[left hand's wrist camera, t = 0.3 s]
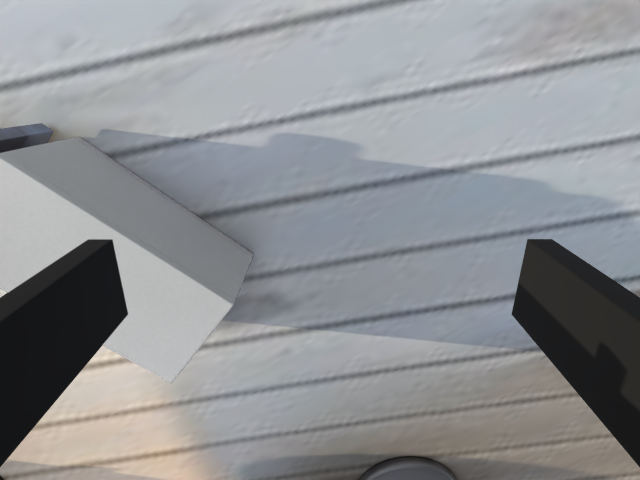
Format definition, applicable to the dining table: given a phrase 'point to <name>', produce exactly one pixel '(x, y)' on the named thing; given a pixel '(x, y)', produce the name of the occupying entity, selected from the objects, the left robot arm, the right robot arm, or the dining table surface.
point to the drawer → (23, 137)
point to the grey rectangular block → (120, 247)
